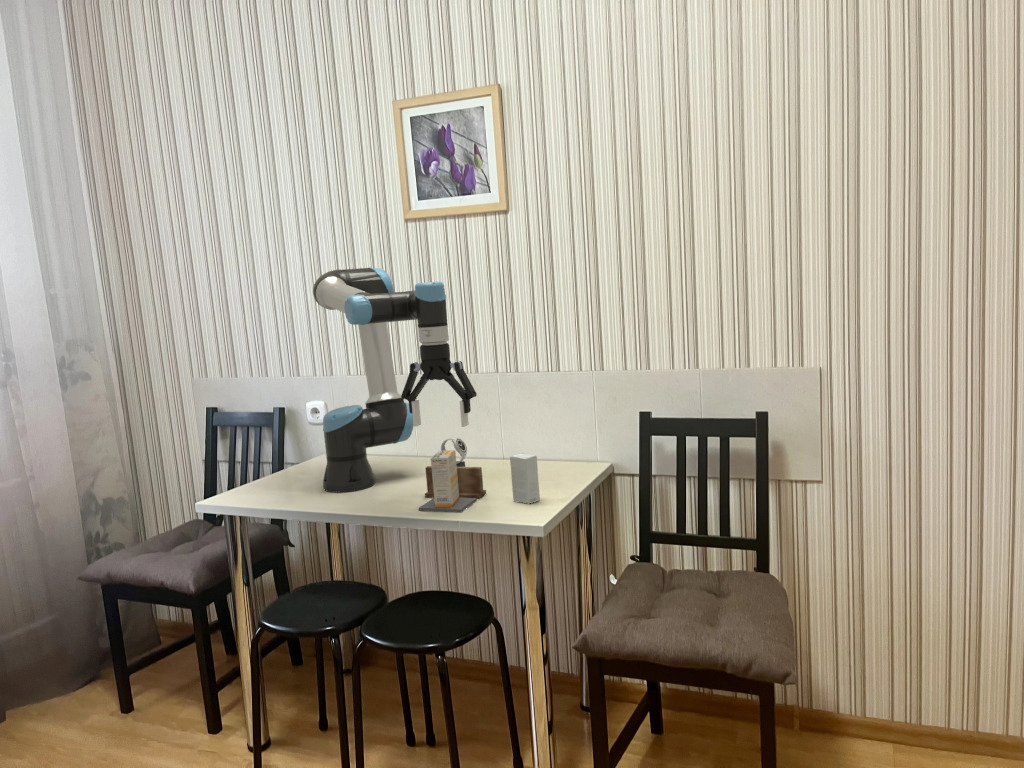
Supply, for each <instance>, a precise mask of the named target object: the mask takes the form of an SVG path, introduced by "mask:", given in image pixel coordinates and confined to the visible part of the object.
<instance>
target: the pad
mask: <svg viewBox="0 0 1024 768" xmlns="http://www.w3.org/2000/svg"><path fill="white" fill-rule="evenodd" d="M477 501H478V500H477V498H459V499H458V500H457V501H456V502H455V504H454V505H453V506H452V507H435V500H434V498H430V499H429V501H427V502H425V503H424V504H422V505H420V506H419V507H418V512H419V511H420V512H440V513H441V512H442V513H463V512H464V511H465V510H466V508H467V509H468V508H470V507H471V506H473V503H474V504H475V503H476V502H477Z"/></svg>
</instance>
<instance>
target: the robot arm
mask: <svg viewBox="0 0 1024 768" xmlns="http://www.w3.org/2000/svg"><path fill="white" fill-rule="evenodd" d="M393 285H394V284H393V281H392V278H391V277H390V275H389V273H388V272H387V271H386V270H385V269H383V268H381V267H375V268H374V267H369V266H368V267H363V268H362V267H361V268H347V269H334V270H330V271H327V272H325V273H323V274H321V275H320V276H319V277H318V278H317V279H316V281H315V282H314V284H313V287H312V294H313V295H312V296H313V298H314V300H315V302H316V304H318V305H319V306H320V307H321V308H324V309H326V310H331V311H335V310H336V311H339V312H341V313H343V314H344V315H345V318H346V321H347V322H348V324H349V325H352V326H355V325H356V326H358V332H359V338H360V339H359V340H360V344H361V351H362V357H363V365H364V369H365V377H366V382H367V390H368V398H367V400H366V401H365V404H364V405H365V408H363V406H361V405H360V404H353V405H347V406H341V407H337V408H335V409H332V410H329V411H328V412H326V413H325V414H324V415H323V418H322V432H323V436H324V437H323V438H324V444H325V445H324V446H325V456H326V457H325V458H326V467H325V471H324V476H323V480H322V486H323V490H324V489H325V490H324V491H326V490H327V491H326V492H329V491H335V492H334V493H342V492H341V491H348V492H355V491H360V490H363V489H367V488H369V486H370V487H372V486H374V485H375V483H376V477H375V473H374V471H373V469H372V466H371V464H370V463H369V459H368V457H367V456H368V454H367V449H368V448H373V447H379V446H380V447H381V446H385V445H391V444H398V443H401V442H405V441H407V440H409V439H410V437H411V435H413V430H414V427H415V428H416V427H418V426H421V425H422V419H421V409H420V407H421V406H420V399H418V396H419V395H420V393H421V392H422V391H423V389H424V388H425V386H426V384H427V383H428V382H429V381H434V380H435V381H442V380H443V381H445V382H446V383H447V384H448V385H449V386H450V387H451V388H452V389H453V391H454V392H455V393H456V394H457V395H458V396H459V397H460V398H461V400H460V401H459V411H460V423H461V425H460V426H461V427H462V428H464V427H467V426H470V425H469V413H471V411H472V410H471V409H472V408H471V399H474V398H476V397H477V394H478V393H477V392H476V389H475V388H474V386H473V385H472V382H471V381H470V379H469V376H468V375H467V374H466V371H465V369H464V365H463V362H462V361H461V360H459V361H456V362H452V361H451V350H450V344H449V343H448V341H449V340H450V336H449V329H448V328H449V327H448V324H449V323H448V315H447V314H448V313H447V293H446V291H445V289H446V288H445V284H444V283H443V282H442V281H429V282H426V281H425V282H417V283H416V284H415V285H414V290H406V291H397V292H395V289H394V286H393ZM404 321H417V330H418V331H417V332H418V340H419V341H418V342H419V344H421V345H419V355H420V361H421V362H420V363H418V362H412V363H410V365H409V374H408V376H407V379H406V381H405V384H404V388H403V389H402V393H401V394H400V393H399V392H398V387H397V381H396V374H395V368H394V361H393V356H392V355H393V354H392V348H391V343H390V342H391V340H390V335H389V329H388V323H391V322H392V323H393V322H404ZM420 370H421V371H422V374H421V377H420V378H419V380H418V382H417V383H416V385H415V382H416V379H417V376H418V374H419V371H420ZM451 370H453V371H454V372H455V373H456V376H457V378H458V380H459V381H458V380H457V379H456V378H455V375H454V374H453V373H452V372H451ZM414 385H415V386H414ZM405 400H407V401H406V402H405ZM373 484H374V485H373ZM354 490H355V491H354ZM336 491H337V492H336ZM338 491H340V492H338Z"/></svg>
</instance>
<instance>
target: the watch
mask: <svg viewBox="0 0 1024 768" xmlns="http://www.w3.org/2000/svg"><path fill="white" fill-rule="evenodd" d="M448 441H451V442H452V444H453V447H454V450H455V452H457V453H458V454H459V455H460V457H461V458H460V460H456V465H457V467H466V461H465V459H466V457H467V451H468V447H467V445H466V443H465V442H464V441H463V439H461V438H458V437H454V436H453V437H448V438H447V439H445V440H444V441H442V443H441V444H440V451H447V449H446V447H445V446H446V443H447V442H448Z"/></svg>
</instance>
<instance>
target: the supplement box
mask: <svg viewBox="0 0 1024 768" xmlns="http://www.w3.org/2000/svg"><path fill="white" fill-rule="evenodd" d="M456 452H457V451H456V449H454V450H446V451H441V450H438V451H437V452H436V453H435V454H434V455H433V456H431V457H430V466H431V467H432V478H433V489H434V500H435V507H452V506H453V505H454V504H455V502H456V501H457V500H458V499H459V488H458V476H457V465H456V461H457V454H456Z"/></svg>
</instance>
